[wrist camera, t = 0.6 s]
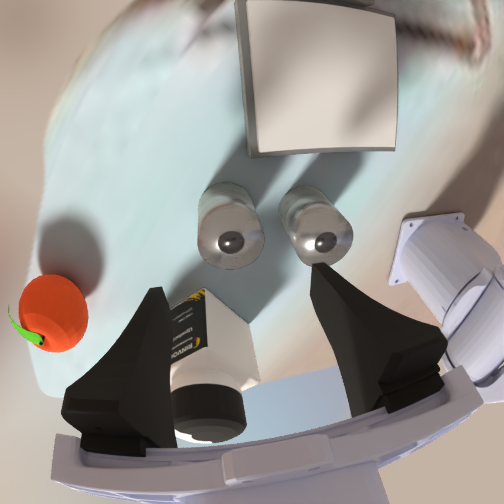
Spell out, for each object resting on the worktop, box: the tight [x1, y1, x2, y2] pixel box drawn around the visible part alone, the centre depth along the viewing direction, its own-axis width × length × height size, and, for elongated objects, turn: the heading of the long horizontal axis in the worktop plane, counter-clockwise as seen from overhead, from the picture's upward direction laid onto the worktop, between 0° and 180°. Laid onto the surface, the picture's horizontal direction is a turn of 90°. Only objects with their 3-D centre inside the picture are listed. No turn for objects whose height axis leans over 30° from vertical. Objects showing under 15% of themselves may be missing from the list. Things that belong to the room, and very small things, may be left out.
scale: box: [234, 0, 398, 158], centre depth 15 cm, size 11×13×3 cm
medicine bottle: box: [170, 288, 260, 443], centre depth 23 cm, size 7×7×12 cm
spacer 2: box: [278, 186, 353, 267], centre depth 20 cm, size 4×4×5 cm
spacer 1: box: [197, 182, 264, 270], centre depth 19 cm, size 4×4×5 cm
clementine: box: [8, 274, 88, 352], centre depth 20 cm, size 8×7×7 cm
